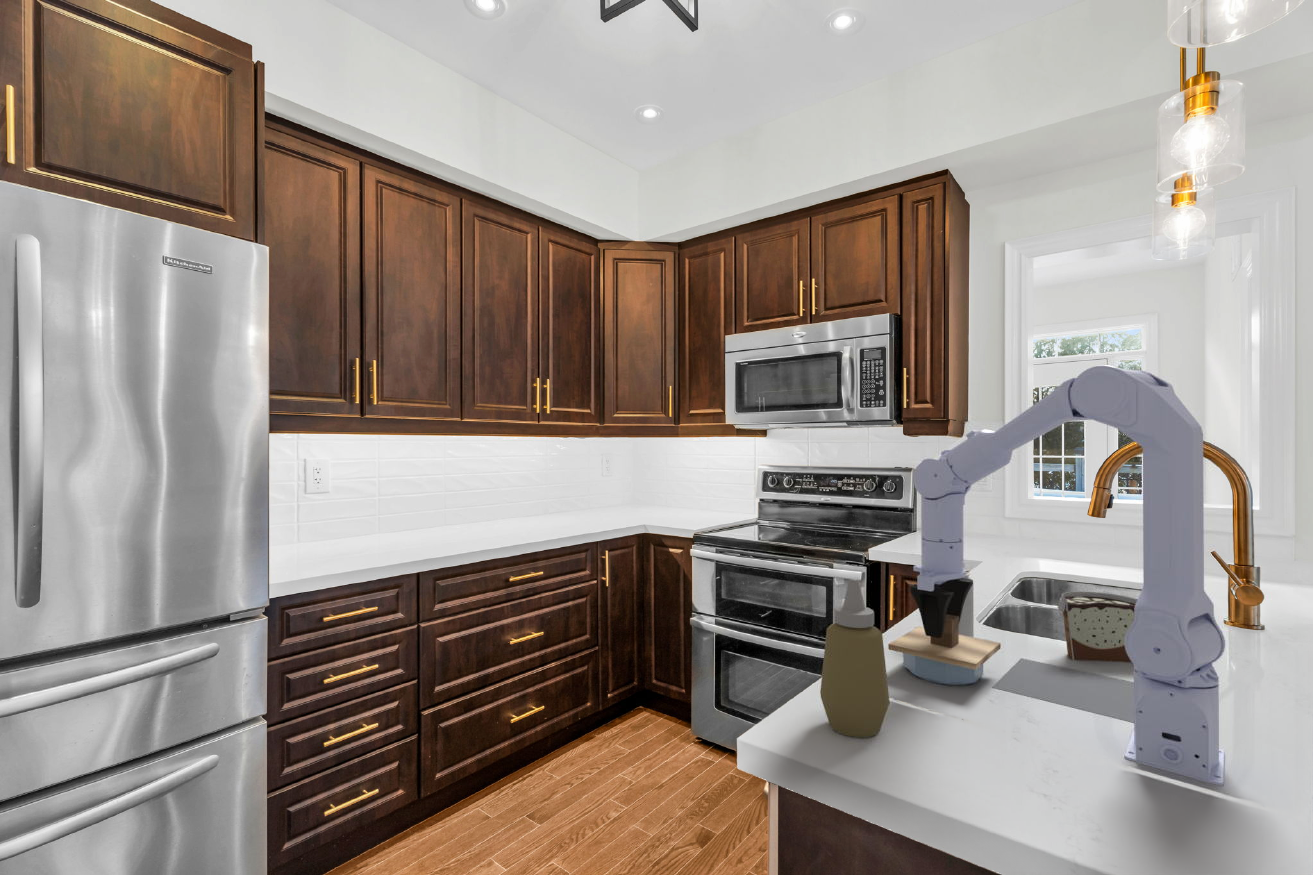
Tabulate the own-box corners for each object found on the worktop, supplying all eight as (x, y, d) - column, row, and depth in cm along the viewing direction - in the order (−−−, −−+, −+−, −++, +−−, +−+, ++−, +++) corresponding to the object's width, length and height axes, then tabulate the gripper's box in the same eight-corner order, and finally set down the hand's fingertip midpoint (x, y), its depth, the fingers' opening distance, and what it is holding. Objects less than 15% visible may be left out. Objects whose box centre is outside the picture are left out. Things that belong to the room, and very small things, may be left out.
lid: (976, 669, 83) (975, 634, 83) (888, 649, 92) (888, 616, 92) (1000, 648, 92) (1000, 616, 92) (918, 631, 100) (918, 601, 100)
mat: (1136, 726, 76) (1136, 722, 76) (992, 690, 86) (992, 687, 86) (1149, 688, 87) (1149, 685, 87) (1021, 660, 98) (1021, 658, 98)
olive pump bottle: (859, 708, 80) (858, 570, 80) (904, 736, 73) (904, 584, 73) (806, 718, 77) (806, 575, 78) (848, 748, 70) (848, 590, 70)
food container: (1120, 651, 102) (1120, 591, 102) (1146, 665, 96) (1146, 601, 96) (1042, 649, 104) (1042, 589, 104) (1062, 662, 98) (1062, 599, 98)
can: (917, 634, 112) (917, 567, 112) (951, 630, 114) (951, 565, 114) (948, 647, 105) (948, 576, 105) (983, 643, 107) (983, 573, 107)
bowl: (967, 694, 85) (967, 665, 85) (895, 675, 92) (895, 648, 92) (989, 674, 92) (989, 647, 92) (920, 658, 99) (920, 633, 99)
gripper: (931, 531, 100) (932, 615, 100) (896, 542, 90) (896, 636, 90) (979, 536, 95) (979, 624, 95) (947, 548, 85) (947, 647, 85)
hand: (942, 630), depth 92 cm, fingers open, 7 cm apart
